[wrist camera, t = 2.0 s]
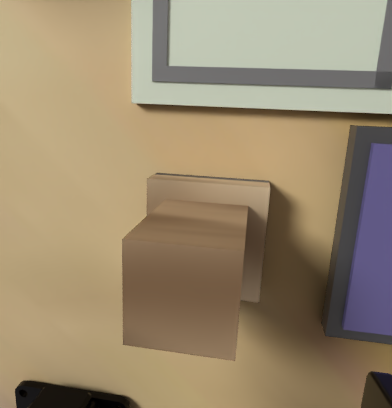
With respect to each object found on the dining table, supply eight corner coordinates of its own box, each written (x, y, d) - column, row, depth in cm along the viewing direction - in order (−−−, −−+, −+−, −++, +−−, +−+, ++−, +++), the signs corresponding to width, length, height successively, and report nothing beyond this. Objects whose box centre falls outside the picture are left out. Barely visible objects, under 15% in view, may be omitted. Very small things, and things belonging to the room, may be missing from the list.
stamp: (258, 285, 17) (260, 388, 10) (155, 273, 17) (98, 363, 11) (268, 180, 16) (277, 225, 9) (157, 172, 16) (94, 209, 10)
